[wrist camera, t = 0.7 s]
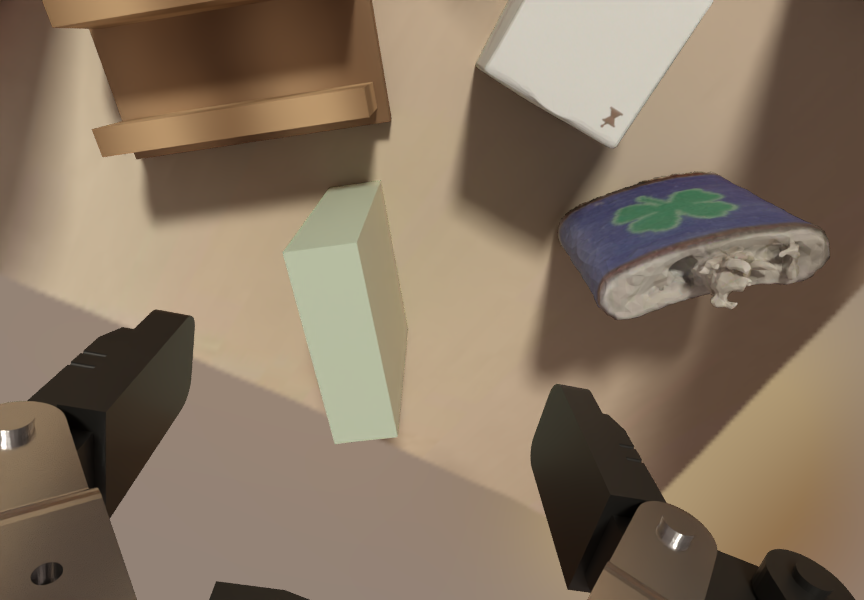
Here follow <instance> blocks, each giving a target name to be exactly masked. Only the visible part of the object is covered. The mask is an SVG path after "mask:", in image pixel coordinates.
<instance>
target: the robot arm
mask: <svg viewBox="0 0 864 600" xmlns="http://www.w3.org/2000/svg"><path fill="white" fill-rule="evenodd" d="M194 330H195V322H194V318H193V317H192V316H189V315H183V314H178V313H173V312H167V311H162V310H153V311H152V312H151V313H150V314H149V315H148V316H147V317H146V318H145V319H144V320H143V321H142V322H141V323H140V324H139V325H138V326H137V327H136V328H135V329H130V328H124V327H122V328H120V329H117V330H115V331H112V332H110V333H108V334H105V335H103V336H100V337H98V338H97V339H96V340H95V341H94V342H93V343H92V344H91V345H89V346H88V347H87V348H86V349H85V350H84V352H83V354H82V353H80V354H79V355H78V356H77V357H76V358H75V359H74V360H73V361H71V364H70V365H67V366H66V367H65V368H64V369H62V370H61V371H60V372H59V373H58V374H57V375H56V376H55V377H54V378H53V379H51V380H50V381H49V382H48V383H47V384H46V385H45V386H43V387H42V388H41V389H40V390H39V391H38V392H37V393H36V394H34V395H33V396H32V397H31V398H30V399H29V400H28V401H16V402H8V403H3V404H0V600H137V598H136V595H135V592H134V590H133V586H132V583H131V580H130V578H129V575H128V572H127V569H126V566H125V563H124V560H123V557H122V554H121V551H120V548H119V545H118V543H117V539H116V537H115V533H114V531H113V528H112V525H111V522H110V517H111V516H112V514H113V513H114V511H115V510H116V508H117V507H118V505H119V503H120V502H121V501H122V499H123V498H124V496H125V495H126V493H127V491H128V490H129V488H130V487H131V485H132V484H133V482H134V481H135V479H136V478H137V476H138V475H139V473H140V472H141V470H142V469H143V467H144V465H145V464H146V462H147V461H148V460H149V458H150V457H151V455H152V453H153V452H154V450H155V449H156V447H157V446H158V444H159V443H160V441H161V440H162V438H163V437H164V435H165V434H166V432H167V431H168V429H169V428H170V426H171V425H172V423H173V421H174V420H175V418H176V417H177V415H178V414H179V412H180V411H181V409H182V407H183V406H184V404H185V401H186V398H187V396H188V392H189V389H190V384H191V373H192V360H193V345H194ZM641 460H642V459H641V458H640V456H639V454H638V452H637V451H636V450H635V449H634V445H633V444H632V442H631V440H630V438H629V437H628V435H627V433H626V431H625V430H624V429H623V428H622V427H621V426H620V425H619V424H618V423H617V422H615V421H614V420H613V419H612V418H611V417H610V416H609V415H607V414H602V412H601V410H600V408H599V406H598V404H597V402H596V401H595V399H594V397H593V395H592V393H591V392H590V391H589V390H588V389H583V388H577V387H572V386H566V385H561V384H556V385H554V386H553V388H552V389H551V391H550V394H549V396H548V399H547V402H546V405H545V407H544V410H543V413H542V416H541V418H540V421H539V424H538V427H537V429H536V432H535V435H534V438H533V441H532V446H531V466H532V470H533V473H534V477H535V480H536V484H537V487H538V490H539V494H540V497H541V501H542V504H543V507H544V511H545V514H546V518H547V521H548V524H549V528H550V531H551V534H552V538H553V541H554V545H555V548H556V552H557V555H558V558H559V562H560V565H561V569H562V572H563V575H564V579H565V582H566V586H567V589H568V590H576V591H582V592H589V593H591V594H590V596H589V597H588V599H587V600H855V599H854V597H853V596H852V595H851V593H850V592H849V591H848V590H847V588H846V587H845V586H844V585H843V584H842V583H841V582H840V581H839V580H838V579H837V578H836V577H835V576H834V575H833V574H832V573H830V572H829V571H828V570H826V569H825V568H824V567H822V566H821V565H819V564H818V563H816V562H815V561H813V560H811V559H809V558H807V557H805V556H803V555H801V554H798V553H795V552H792V551H789V550H783V549H775V550H771V551H770V552H768V553H767V555H766V556H765V558H764V560H763V561H762V563H761V565H760V566H759V567H758V566H756V565H753V564H750V563H748V562H746V561H743V560H740V559H738V558H735V557H733V556H730V555H728V554H725V553H722V552H720V551H718V550H717V545H716V543H715V540H714V538H713V537H712V535H711V533H710V532H709V531H708V530H707V528H705V527H704V525H703V524H702V523H701V522H699V521H698V520H697V519H696V518H695V517H693V516H692V515H690V514H689V513H687V512H685V511H684V510H682V509H680V508H678V507H676V506H674V505H671V504H668V503H666V501H665V499H664V498H663V496H662V494H661V492H660V491H659V489H658V487H657V485H656V484H655V482H654V480H653V478H652V477H651V475H650V473H649V471H648V470H647V468H646V466H645V465H644V463H641ZM209 600H309V599H306V598H304V597H301V596H299V595H296V594H293V593H291V592H288V591H285V590H279V589H271V588H263V587H256V586H248V585H240V584H233V583H224V582H216V584H215V586H214V589H213V591H212V594H211V597H210V599H209Z"/></svg>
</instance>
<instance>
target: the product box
mask: <svg viewBox="0 0 864 600" xmlns="http://www.w3.org/2000/svg"><path fill="white" fill-rule="evenodd" d="M712 3H713V0H508V2H507V4H506V6H505V8H504V10H503V12H502V13H501V15H500V17H499V19H498V21H497V23H496V25H495V27H494V29H493V31H492V33H491V35H490V37H489V39H488V41H487V42H486V44H485V46H484V48H483V50H482V52H481V54H480V56H479V58H478V60H477V62H476V64H475V66H476V67H477V68H479V69H480V70H481V71H483V72H484V73H486V74H487V75H489V76H490V77H492V78H493V79H495V80H496V81H498V82H499V83H501V84H502V85H504V86H506V87H507V88H509V89H510V90H512V91H513V92H515V93H517V94H518V95H520V96H521V97H523V98H525V99H526V100H528V101H529V102H531V103H533V104H534V105H536V106H538V107H540V108H541V109H543V110H545V111H546V112H548V113H550V114H552V115H553V116H555V117H557V118H559V119H560V120H562V121H564V122H566V123H567V124H569V125H571V126H573V127H574V128H576V129H578V130H579V131H581V132H583V133H584V134H586V135H588V136H589V137H591V138H593V139H595V140H596V141H598V142H600V143H601V144H603V145H605V146H607V147H608V148H615V147H616V146H617V145H618V144H619V142H620V141H621V139H622V138H623V136H624V135H625V133H626V132H627V130H628V129H629V127H630V126H631V124H632V123H633V121H634V120H635V118H636V117H637V115H638V114H639V112H640V111H641V109H642V108H643V106H644V105H645V103H646V102H647V100H648V99H649V97H650V96H651V94H652V93H653V91H654V90H655V88H656V87H657V85H658V84H659V82H660V81H661V79H662V78H663V76H664V75H665V73H666V72H667V70H668V69H669V67H670V66H671V64H672V63H673V61H674V60H675V58H676V57H677V55H678V54H679V52H680V51H681V49H682V48H683V46H684V45H685V43H686V42H687V40H688V39H689V37H690V36H691V34H692V33H693V31H694V30H695V28H696V27H697V25H698V24H699V22H700V21H701V19H702V18H703V16H704V15H705V13H706V12H707V10H708V9H709V7H710V6H711V5H712Z"/></svg>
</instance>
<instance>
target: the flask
mask: <svg viewBox="0 0 864 600" xmlns="http://www.w3.org/2000/svg"><path fill="white" fill-rule="evenodd" d="M558 240H559V242H560V244H561V246H562V247H563V248H564V249H565V251H566V252H567V254H568V255H569V256H570V258H571V261H572V263H573V264H574V265H575V267H576V268H577V270H578V271H579V272H580V273H581V275H582V278H583V279H584V281H585V282H586V284H587V285H588V287H589V289H590V290H591V292H592V294H593V295H594V299H595V301H596V303H597V306H598V307H599V308H601V309H602V310H603V311H604V312H605V313H606V314H607V315H609V316H611V317H613V318H614V319H615V320H627V319H633V318H637V317H640V316H642V315H645V314H647V313H649V312H651V311H655V310H658V309H661V308H663V307H665V306H667V305H670V304H673V303H676V302H679V301H685V300H687V299H689V298H695V297H698V296H701V295H706V294H710V293H711V295H714V296H713V297H712V298H711V304H712V305H713V306H714V307H719V308H721V307H725V308H728V309H733V308H735V307H736V306H737V304H738V303H735V302H728V300H727V297H728V295H729V294H730V293H731V292H732V291H738V292H742V291H743V290H744V289H745V287H746V286H750V285H757V284H784V285H787V284H791V283H795V282H800V281H804V280H806V279H808V278H810V277H812V276H813V275H814V273H815V271H816V270H818V269H820V268H822V267H823V265H824V264H825V263H826V261H827V260H828V259H829V258H830V253H829V241H828V238H827V236H826V234H825V232H824V231H823V230H822V229H821V228H820V227H819V226H816V225H813V224H811V223H809V222H806V221H804V220H802V219H800V218H797V217H795V216H793V215H792V214H789V213H787V212H786V211H785V210H784V209H781V208H779V207H777V206H775V205H773V204H771V203H769V202H767V201H765V200H763V199H761V198H759V197H758V196H756V195H754V194H753V193H751V192H750V191H748V190H746V189H744V188H741V187H739V186H737V185H735V184H733V183H731V182H730V181H728V180H726V179H725V178H723V177H722V176H720V175H718V174H716V173H713V172H708V173H705V172H693V173H692V172H690V173H685V174H674V175H673V174H672V175H671V176H662V177H657V178H653V179H651V180H648V181H642V182H639V183H638V184H635V185H633V186H630V187H625V188H623V189H620V190H618V191H615V192H612V193H608V194H606V195H605V196H602V197H601V196H600V197H597V198H596V199H593V200H591V201H589V202H587V203H586V202H585V203H583V204H579V206H578V207H575V208H574V209H573V210H571V211H569V212H568V213H567V214H565V217H563V218H561V221H560V224H559V228H558Z"/></svg>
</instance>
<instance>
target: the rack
mask: <svg viewBox="0 0 864 600" xmlns="http://www.w3.org/2000/svg"><path fill="white" fill-rule="evenodd" d="M42 2H43V4H44V7H45V10H46V12H47V15H48V17H49V20H50V23H51V25H52V27H53V28H83V29H89V30H90V33H91V36H92V38H93V41H94V44H95V47H96V49H97V52H98V55H99V58H100V60H101V63H102V66H103V69H104V71H105V74H106V77H107V80H108V82H109V85H110V88H111V91H112V93H113V96H114V99H115V102H116V104H117V107H118V110H119V113H120V116H121V118H122V122H118V123H114V124H110V125H107V126H103V127H99V128H95V129H92V131H93V134H94V136H95V139H96V141H97V144H98V147H99V149H100V152H101V154H102V157H107V156H114V155H120V154H127V153H134V154H135V157H136V159H142V158H148V157H155V156H162V155H169V154H175V153H182V152H189V151H195V150H202V149H209V148H216V147H222V146H229V145H236V144H242V143H249V142H256V141H263V140H269V139H276V138H283V137H289V136H296V135H303V134H310V133H316V132H323V131H330V130H336V129H343V128H350V127H357V126H363V125H370V124H377V123H383V122H390V121H391V113H390V107H389V101H388V95H387V89H386V83H385V77H384V71H383V65H382V59H381V53H380V47H379V41H378V35H377V29H376V23H375V17H374V11H373V5H372V0H42Z"/></svg>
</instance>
